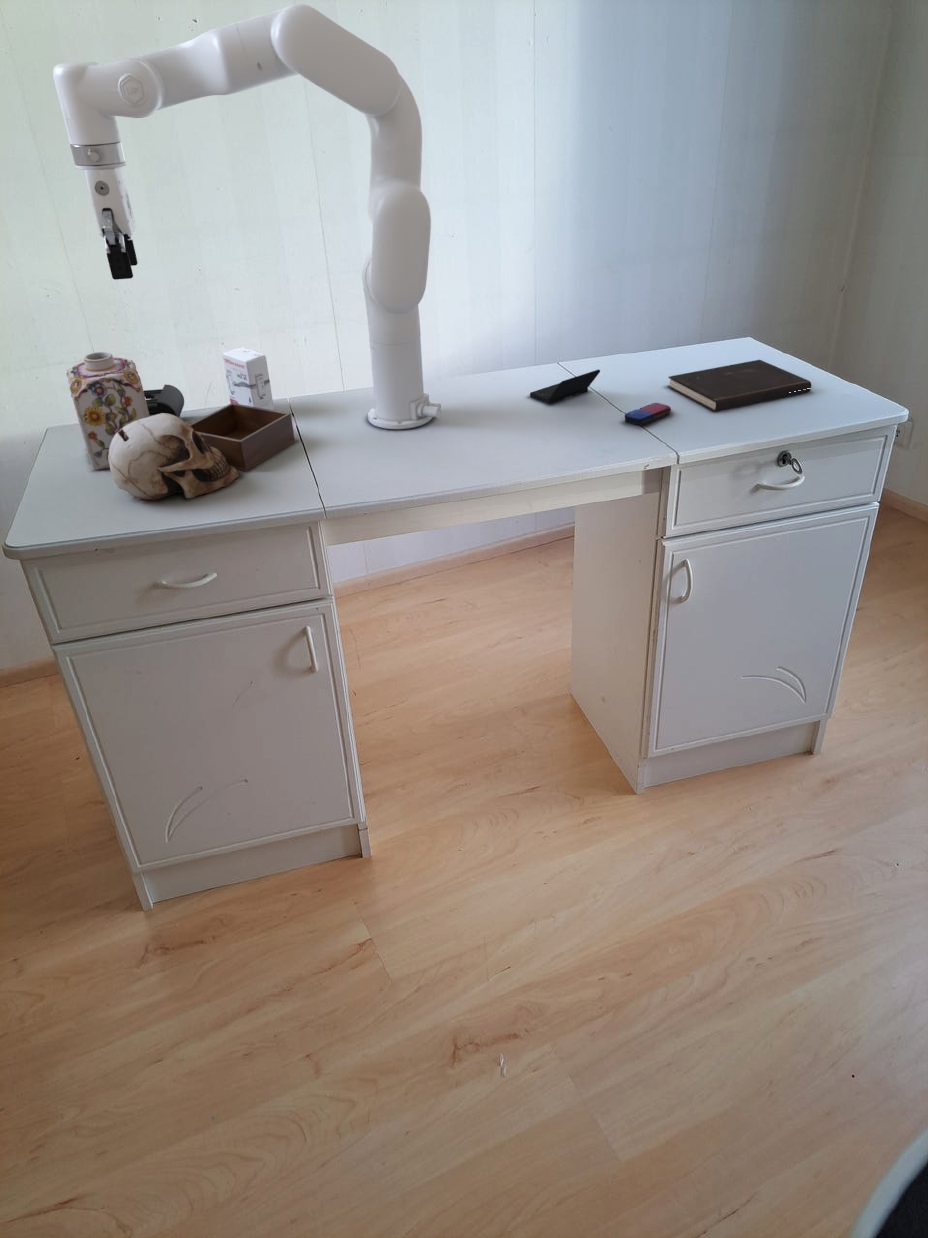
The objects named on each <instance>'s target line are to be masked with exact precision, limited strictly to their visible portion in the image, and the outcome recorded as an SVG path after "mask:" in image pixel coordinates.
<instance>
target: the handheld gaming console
mask: <svg viewBox="0 0 928 1238" xmlns="http://www.w3.org/2000/svg"><path fill="white" fill-rule="evenodd" d="M600 372H601V369H596V370H592V371H589V372H586V373H583V374H580V375H577V376H574V377H571V378H568V379H565V380H561V381H560V382H559V383H556V384H553V385H549V386H546V387H543V388H540V389H537V390H533V391H531V392H530V393H529V398H532V399H534V400H537V401H539V402H542V403H544V404H547V405H549V406H550V405H552V404H553V405H554V404H556V403H559V402H562V401H565V400H566V399H570V398H572V397H573V398H574V397H577V396H580V395H583V394H585V393H588V392H589V387H590V386H591V385H592V384H593V382H594V381H595V379H596V378H597V377H598V375H599V374H600Z"/></svg>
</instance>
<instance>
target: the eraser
mask: <svg viewBox="0 0 928 1238" xmlns="http://www.w3.org/2000/svg"><path fill="white" fill-rule="evenodd" d="M671 412H672V408H671V406H669V405H667V404H665V403H661V402H653V403H650V404H646V405H645V406H642V407H639V408H637V409H633V410H631V411H628V412H627V413H625V414H624V423H627V424H632V425H636V426H640V427H643V426H646V425H649V424H651V423H654V422H656V421H658V420H661V419H663V418H665V417H668V416H669V415H670V414H671Z"/></svg>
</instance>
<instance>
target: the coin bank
mask: <svg viewBox="0 0 928 1238" xmlns="http://www.w3.org/2000/svg"><path fill="white" fill-rule="evenodd" d="M190 424H191V423H189V422H187V421H184V420H183V419H181V418H180V417H176V416H174V415H171V414H168V413H161V414H157V415H153V416H149V417H147V418H143V419H139V420H136V421H134V422H132V423H130V424H128V425H126V426H125V427H123V428H122V429H121V430H119V431H118V432H117V433H116V434H115V436H114V437H113V439H112V442H111V444H110V448H109V455H108V460H109V464H110V468H109V469H110V474H111V478H112V480H113V483H114V484H115V485H116V487H117V488H118V489H120V490H123V491H125V492H127V493H128V494H129V495H131V496H132V497H133V498H134V499H141V500H146V501H147V500H151V501H157V500H159V499H163V498H165V497H169V496H173V495H175V494H176V493H177V494H178V493H183V494H184V497H185V498H186V499H194V498H195V497H197V496H202V495H206V494H211V493H212V492H214V491H217V490H219V489H221V488H224V487H228V486H229V485H230V484H231V483H232V482H233V481H235V479H237V478H239V477H240V473H239V470H237V469H235V468H234V467H232V466H231V465H228V464H227V462H226V459H225V457H224V456H223V454H222V453H221V452H220V451H219V450H218V449H216V448H214V447H210V446H209V445H208V444H207V443H206V441H205V439H204V438H201V434H200V433H196V432H195V431H194V429H193V428H192V427H191V425H190Z"/></svg>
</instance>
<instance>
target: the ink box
mask: <svg viewBox="0 0 928 1238" xmlns="http://www.w3.org/2000/svg"><path fill="white" fill-rule="evenodd" d="M221 356H222V361H223V367H224V374H225V379H226V385H227V391H228V396H229V402H230V403H229V404H231V403H235V404H240V405H246V406H252V407H257V408H263V409H269V410H274V411H275V406H274V399H273V393H272V386H271V380H270V373H269V367H268V362H267V356H266V355H265V353H261V352H258V351H256V350H253V349H250V348H247V347H242V346H241V347H237V348H234V349H232V350H229V351H225V352H223V353H222V354H221Z"/></svg>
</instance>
